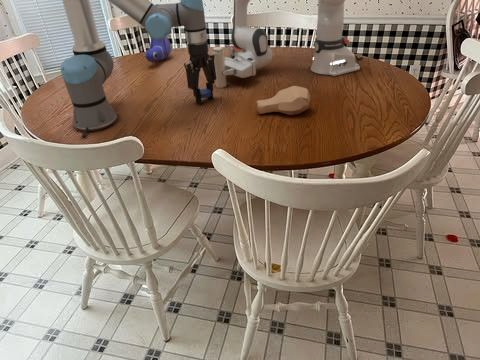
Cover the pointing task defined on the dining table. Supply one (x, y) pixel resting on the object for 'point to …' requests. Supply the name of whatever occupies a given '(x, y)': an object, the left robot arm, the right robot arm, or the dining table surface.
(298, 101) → the squash
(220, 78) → the jar
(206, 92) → the lid
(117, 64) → the dining table surface
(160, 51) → the toy
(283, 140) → the dining table surface
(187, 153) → the dining table surface
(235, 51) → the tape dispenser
